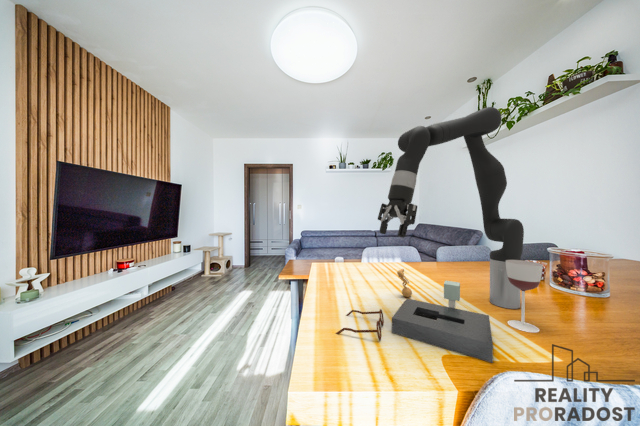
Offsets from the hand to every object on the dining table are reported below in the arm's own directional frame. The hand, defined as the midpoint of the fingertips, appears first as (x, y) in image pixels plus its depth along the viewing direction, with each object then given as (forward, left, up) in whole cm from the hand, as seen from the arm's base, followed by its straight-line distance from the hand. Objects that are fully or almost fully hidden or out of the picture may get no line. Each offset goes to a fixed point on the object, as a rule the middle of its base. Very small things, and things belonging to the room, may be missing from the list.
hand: (391, 235), depth 73 cm
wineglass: (-22, +35, -29) cm, 50 cm away
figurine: (-26, -2, -29) cm, 39 cm away
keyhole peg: (-17, +16, -29) cm, 37 cm away
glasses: (+7, -7, -29) cm, 31 cm away
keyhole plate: (-4, +14, -29) cm, 32 cm away
